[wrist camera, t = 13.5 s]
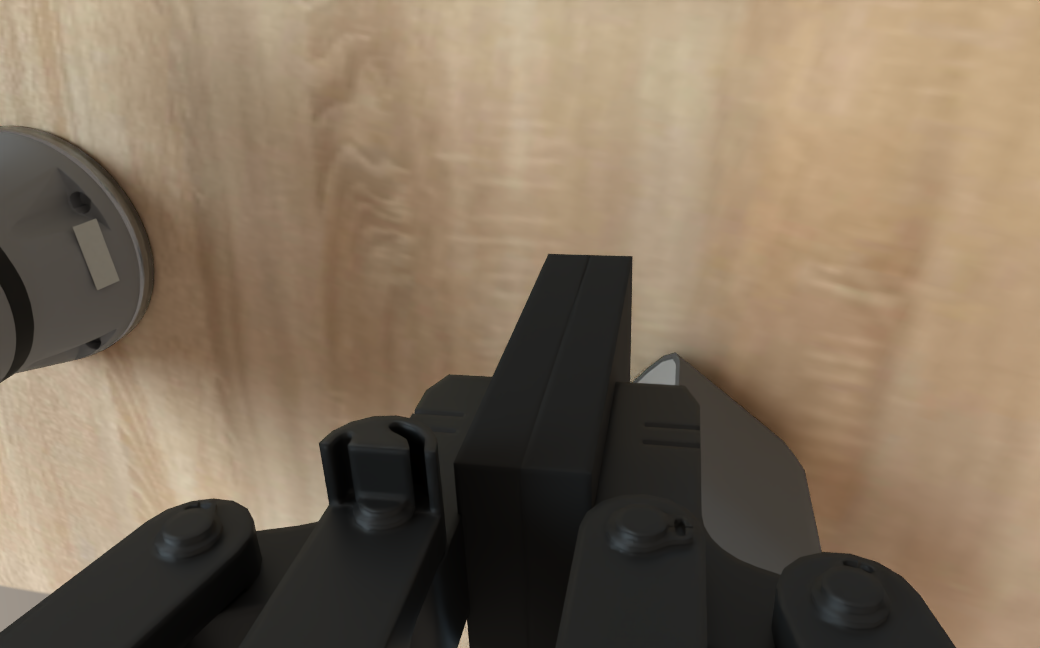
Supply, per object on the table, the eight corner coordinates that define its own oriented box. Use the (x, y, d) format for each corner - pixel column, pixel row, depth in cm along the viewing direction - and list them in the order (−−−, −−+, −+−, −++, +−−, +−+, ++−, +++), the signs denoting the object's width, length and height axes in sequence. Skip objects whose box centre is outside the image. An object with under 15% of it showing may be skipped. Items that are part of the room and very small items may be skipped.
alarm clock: (680, 337, 48) (675, 500, 34) (820, 453, 49) (870, 655, 36) (512, 495, 55) (452, 684, 41) (639, 593, 57) (622, 806, 43)
